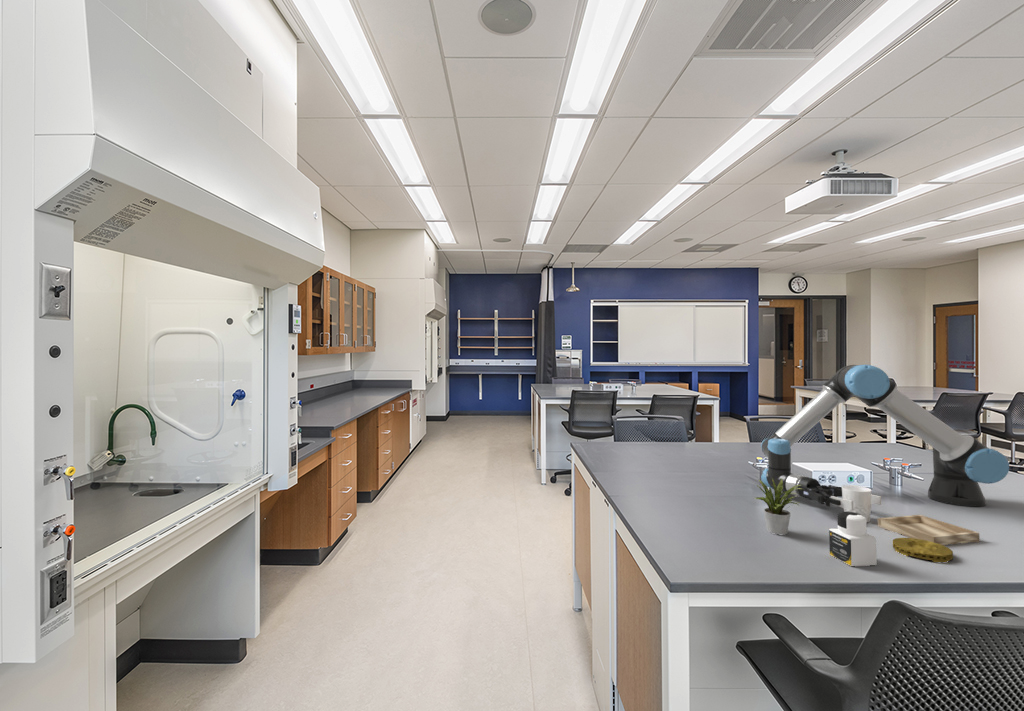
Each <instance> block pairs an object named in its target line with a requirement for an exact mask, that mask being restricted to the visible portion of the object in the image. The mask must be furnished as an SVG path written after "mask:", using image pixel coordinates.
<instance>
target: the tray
mask: <svg viewBox="0 0 1024 711" xmlns="http://www.w3.org/2000/svg"><path fill="white" fill-rule="evenodd" d="M878 526H879V528H881V529H885V530H888V531H889V532H892V531H893V532H892V533H895V532H897V533H896V534H898V533H899V534H898V535H901V534H902V535H901V536H904V535H905V536H904V537H906V536H907V537H906V538H909V537H910V538H914V539H921V540H926V541H930V542H934V543H937V544H940V545H943V546H949V545H948V544H951V545H958V544H957V543H961V544H968V542H971V543H979V542H980V532H978V531H975V530H972V529H968V528H965V527H961V526H958V525H955V524H952V523H948V522H945V521H942V520H938V519H935V518H932V517H928V516H926V515H922V514H911V515H900V516H890V517H879V518H877V527H878Z"/></svg>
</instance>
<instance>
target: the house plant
mask: <svg viewBox="0 0 1024 711" xmlns="http://www.w3.org/2000/svg"><path fill="white" fill-rule="evenodd" d="M771 478H772V477H771ZM758 481H759V482H760V484H761V486H762V487H761V486H760V485H758V484H756V486H757V487H758V488H759V489H760V490H761V491H762V493H763V494H764V495H765V496H764V497H763V496H761V497H755V498H754V499H755V500H761V501H763V502H764V503H765V504H766V505H767V507H765V508H763V514H764V519H765V520H764V521H765V524H766V525H765V526H766V530H768V531H769V532H768V531H767V532H768V533H770V532H771V533H770V534H772V533H775V534H787V535H788V531H789V526H790V525H789V524H790V519H791V512H790V511H788V510H787V509H784V508H785V506H787V505H788V504H792V505H797V506H800V503H798V502H795V501H794V500H793V498H794V496H790V495H793V494H796V493H791V492H792V491H795V489H802V488H796V487H797V486H801V485H797V486H794V487H792V488H790V489H789V490H788V491H785V492H782V489H783V481H782V478H781V481H780V483H779V484H778V486H777V488H776V485H775V482H774V480H773V479H772V481H773V486H774V489H772V488H770V487H767V486H766V485H765V484H764V483H763V482H762V480H760V479H758ZM772 490H774V491H772ZM773 492H774V494H773ZM790 493H791V494H790ZM789 496H790V497H789ZM789 507H790V506H789ZM789 507H788V508H789ZM775 534H774V535H775Z"/></svg>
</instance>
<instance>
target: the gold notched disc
mask: <svg viewBox="0 0 1024 711" xmlns="http://www.w3.org/2000/svg"><path fill="white" fill-rule="evenodd" d="M892 547H893V549H894V551H895V552H896V551H897V553H898V552H899V553H898V554H900V553H901V554H900V555H902V554H903V555H902V556H904V555H906V556H905V557H907V556H908V557H914V558H917V559H922V560H928V561H931V560H932V561H931V562H933V563H935V562H947V561H952V560H953V558H954V553H953V550H952V549H950V548H949V547H947V546H946V545H940V544H937V543H934V542H930V541H926V540H921V539H914V538H909V537H897V538H894V539H893V540H892ZM909 555H910V556H909Z"/></svg>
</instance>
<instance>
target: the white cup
mask: <svg viewBox="0 0 1024 711" xmlns="http://www.w3.org/2000/svg"><path fill="white" fill-rule="evenodd" d="M841 487H842V497H841V498H842V499H846V500H850V501H853V510H849V509H846V508H842V509H843V512H854V513H858V514H860V515H862V516H864V517H865V518H866V523H869V522H871V514H872V513H871V512H872V503H871V497H872V492H873V490H872V489H871V488H868V487H865V486H861V485H855V484H854V485H852V484H849V485H848V484H847V485H846V484H844V485H842V486H841Z"/></svg>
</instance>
